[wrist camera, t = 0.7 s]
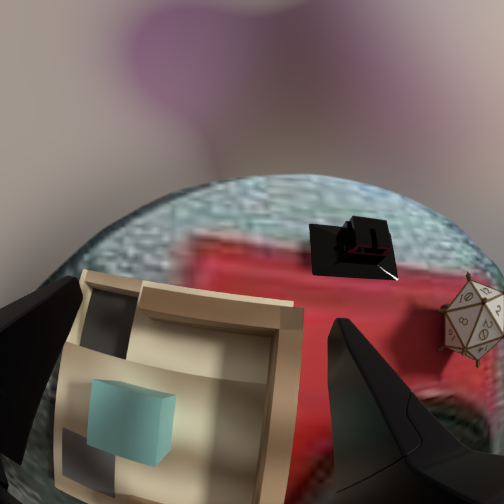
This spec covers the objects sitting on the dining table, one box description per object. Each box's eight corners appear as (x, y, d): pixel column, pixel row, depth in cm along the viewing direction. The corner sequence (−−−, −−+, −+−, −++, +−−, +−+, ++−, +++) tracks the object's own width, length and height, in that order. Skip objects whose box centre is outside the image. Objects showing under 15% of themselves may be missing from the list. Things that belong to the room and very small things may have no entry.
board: (262, 530, 13) (265, 541, 11) (65, 482, 13) (54, 487, 11) (288, 308, 23) (293, 301, 21) (92, 277, 22) (82, 268, 20)
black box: (293, 285, 24) (306, 263, 20) (292, 217, 28) (302, 188, 24) (407, 289, 25) (433, 271, 21) (396, 229, 28) (416, 205, 24)
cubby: (267, 529, 12) (274, 550, 9) (132, 508, 12) (117, 524, 9) (292, 320, 20) (304, 308, 17) (155, 301, 20) (143, 286, 17)
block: (170, 450, 15) (155, 467, 11) (113, 434, 15) (86, 443, 11) (176, 394, 17) (161, 398, 13) (119, 380, 17) (92, 378, 13)
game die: (437, 350, 25) (493, 390, 15) (403, 326, 23) (471, 375, 13) (474, 286, 24) (535, 311, 15) (446, 250, 22) (523, 273, 13)
